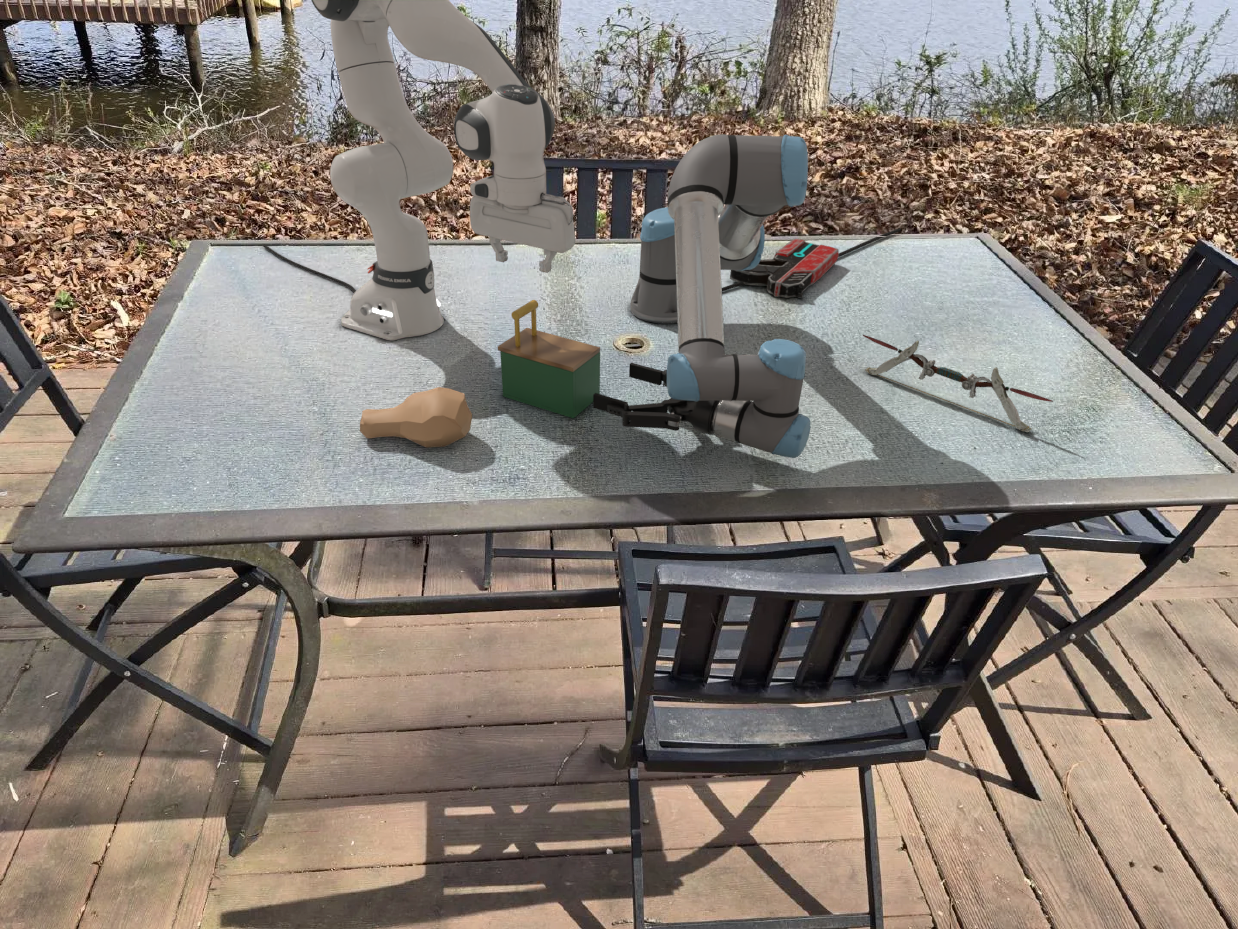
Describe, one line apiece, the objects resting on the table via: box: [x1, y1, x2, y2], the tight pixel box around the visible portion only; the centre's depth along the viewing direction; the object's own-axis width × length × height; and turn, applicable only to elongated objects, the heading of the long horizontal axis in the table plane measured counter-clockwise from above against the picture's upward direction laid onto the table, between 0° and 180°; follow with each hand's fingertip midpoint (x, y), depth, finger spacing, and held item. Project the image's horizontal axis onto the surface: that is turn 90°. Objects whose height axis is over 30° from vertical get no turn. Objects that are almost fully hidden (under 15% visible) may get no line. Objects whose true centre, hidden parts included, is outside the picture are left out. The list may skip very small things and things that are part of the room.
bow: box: [862, 334, 1055, 433], centre depth 169 cm, size 39×2×10 cm, turn 47°
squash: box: [359, 386, 473, 449], centre depth 154 cm, size 11×20×9 cm, turn 90°
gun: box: [729, 238, 840, 299], centre depth 224 cm, size 4×31×19 cm
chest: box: [499, 351, 601, 419], centre depth 167 cm, size 16×10×10 cm, turn 61°
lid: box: [497, 299, 601, 372], centre depth 162 cm, size 17×10×8 cm, turn 61°
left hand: (523, 266), depth 158 cm, fingers open, 8 cm apart
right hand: (612, 384), depth 160 cm, fingers open, 13 cm apart
